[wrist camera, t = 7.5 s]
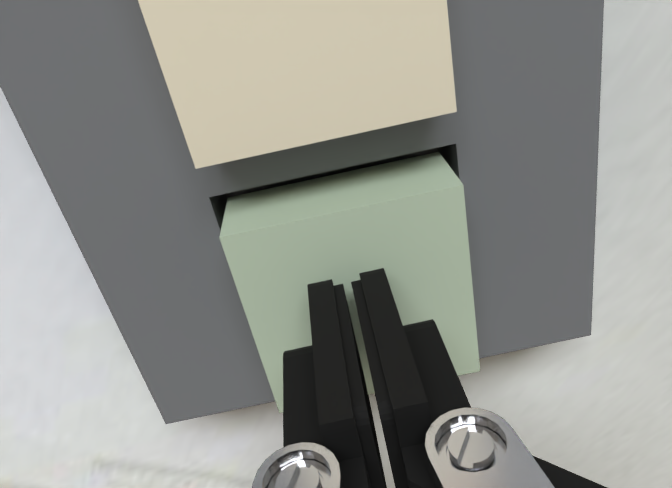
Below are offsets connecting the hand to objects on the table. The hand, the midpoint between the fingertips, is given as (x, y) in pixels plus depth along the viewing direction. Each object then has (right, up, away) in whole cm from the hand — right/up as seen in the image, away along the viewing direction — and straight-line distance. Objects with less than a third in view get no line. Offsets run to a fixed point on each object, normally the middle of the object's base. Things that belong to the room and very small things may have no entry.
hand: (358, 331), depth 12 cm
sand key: (-1, +7, -1) cm, 7 cm away
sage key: (0, +1, +2) cm, 2 cm away
